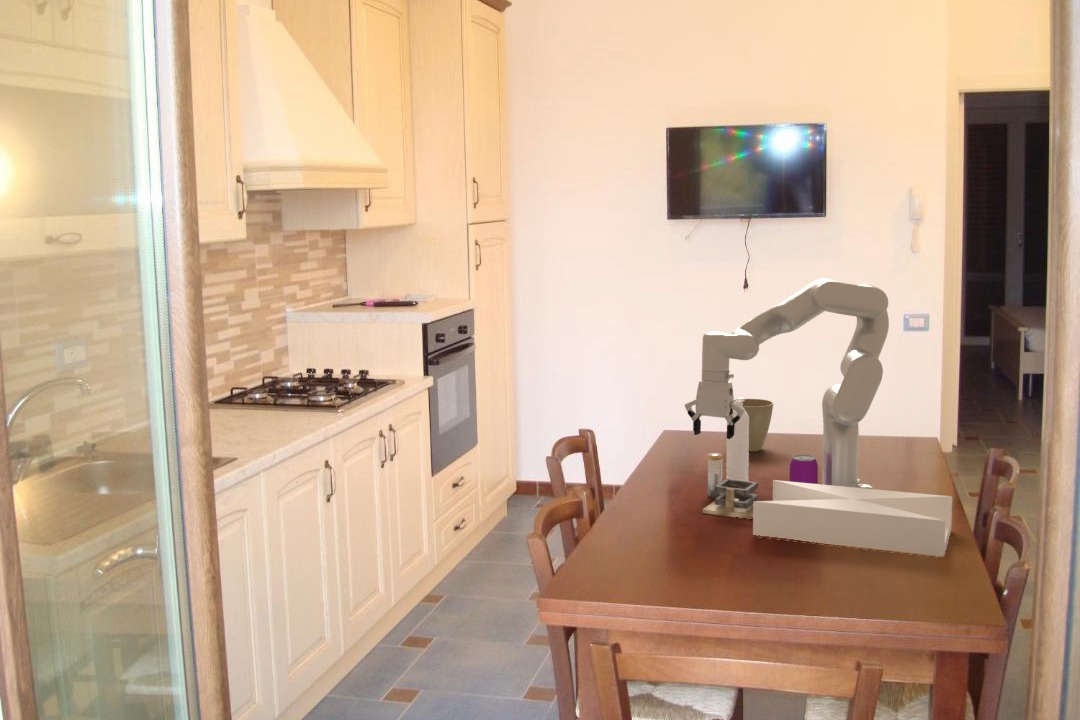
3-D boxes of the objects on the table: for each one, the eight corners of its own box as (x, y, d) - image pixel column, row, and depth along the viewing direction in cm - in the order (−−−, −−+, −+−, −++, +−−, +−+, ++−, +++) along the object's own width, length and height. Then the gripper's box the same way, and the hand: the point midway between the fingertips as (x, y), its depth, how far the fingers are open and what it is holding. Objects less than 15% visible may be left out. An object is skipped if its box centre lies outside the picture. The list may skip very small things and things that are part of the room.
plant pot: (779, 447, 365) (779, 400, 362) (763, 456, 352) (763, 408, 350) (737, 442, 373) (737, 396, 370) (720, 451, 360) (720, 404, 358)
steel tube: (724, 494, 309) (725, 453, 307) (719, 498, 305) (719, 457, 304) (710, 493, 311) (711, 452, 309) (705, 496, 307) (705, 455, 306)
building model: (752, 538, 272) (753, 501, 270) (772, 513, 292) (773, 479, 290) (943, 560, 253) (945, 520, 252) (950, 532, 273) (952, 496, 272)
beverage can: (785, 500, 302) (786, 458, 300) (793, 493, 309) (793, 452, 307) (813, 504, 298) (814, 461, 297) (820, 496, 305) (821, 455, 303)
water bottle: (746, 487, 316) (747, 403, 312) (724, 485, 318) (725, 402, 314) (751, 479, 324) (752, 397, 321) (729, 478, 326) (729, 396, 323)
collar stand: (769, 506, 297) (770, 481, 296) (752, 519, 285) (752, 494, 284) (721, 499, 304) (721, 475, 303) (702, 512, 292) (702, 487, 291)
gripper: (749, 377, 302) (747, 437, 304) (691, 371, 310) (689, 430, 313) (740, 381, 295) (738, 442, 298) (681, 375, 304) (679, 435, 307)
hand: (713, 436), depth 306 cm, fingers open, 9 cm apart
